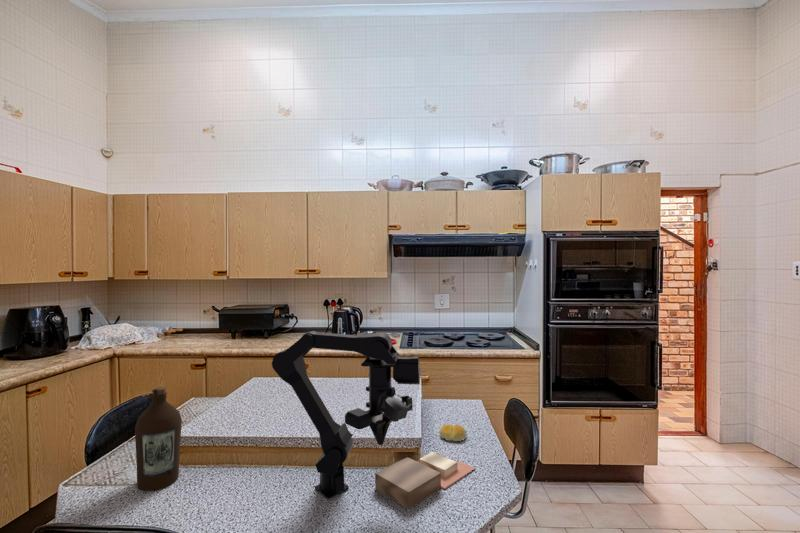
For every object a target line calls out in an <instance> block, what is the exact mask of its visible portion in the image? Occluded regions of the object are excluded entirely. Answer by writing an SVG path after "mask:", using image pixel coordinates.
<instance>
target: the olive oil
mask: <svg viewBox="0 0 800 533" xmlns="http://www.w3.org/2000/svg"><path fill="white" fill-rule="evenodd" d="M151 391H152V392H151V393H152V394H151V403H150V404H149V406H148V407H147V408H146V409H145V410H144V411H143V412H142V413H141V414H140V415H139V417H138V418H137V421H136V423H135V426H134V439H135V440H134V441H135V442H134V443H135V459H136V463H135V464H136V486H137V487H136V488H137V489H138V490H139V491H141V492H155V491H160V490H162V489H165V488H167V487H169V486H171V485H173V484H174V483H175V482H177V480H178V479H179V476H180V473H179V471H180V452H181V436H182V423H183V422H182V415H181V412H180V411H179V410H178V409H177V408H176V407H174V406H173V405H172V404H171V403H169V402H168V401H167V387H166V386H157V387H154V388H152V389H151Z"/></svg>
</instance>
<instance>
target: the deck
mask: <svg viewBox="0 0 800 533" xmlns="http://www.w3.org/2000/svg"><path fill="white" fill-rule="evenodd" d="M374 474H375V475H374V476H375V477H374V479H375V482H374V484H375V485H374V487H375V488H374V490H377V491H378V492H380V493H382V494H383V495H385V496H386V497H388V498H390V499H391V500H393V501H394V502H396V503H397V504H400V505H401V506H403V507H405V509H407V510H410V509H411V508H413V507H415V506H417V505H418V504H420V503H421V502H422V501H424V500H426V499H428V497H430V496H432V495H433V494H435V493H436V492H438V491H440V490H442V488H441V473H440V472H438V471H435V470H433V469H431V468H429V467H427V466H425V465H423V464H421V463H419V461H417V460H414V459H412V458H410V457H405V458H403V459H401V460H399V461H397V462H395V463H393V464H390V465H389V466H387V467H385V468H383V469H381V470H379V471H377V472H375V473H374Z"/></svg>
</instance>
